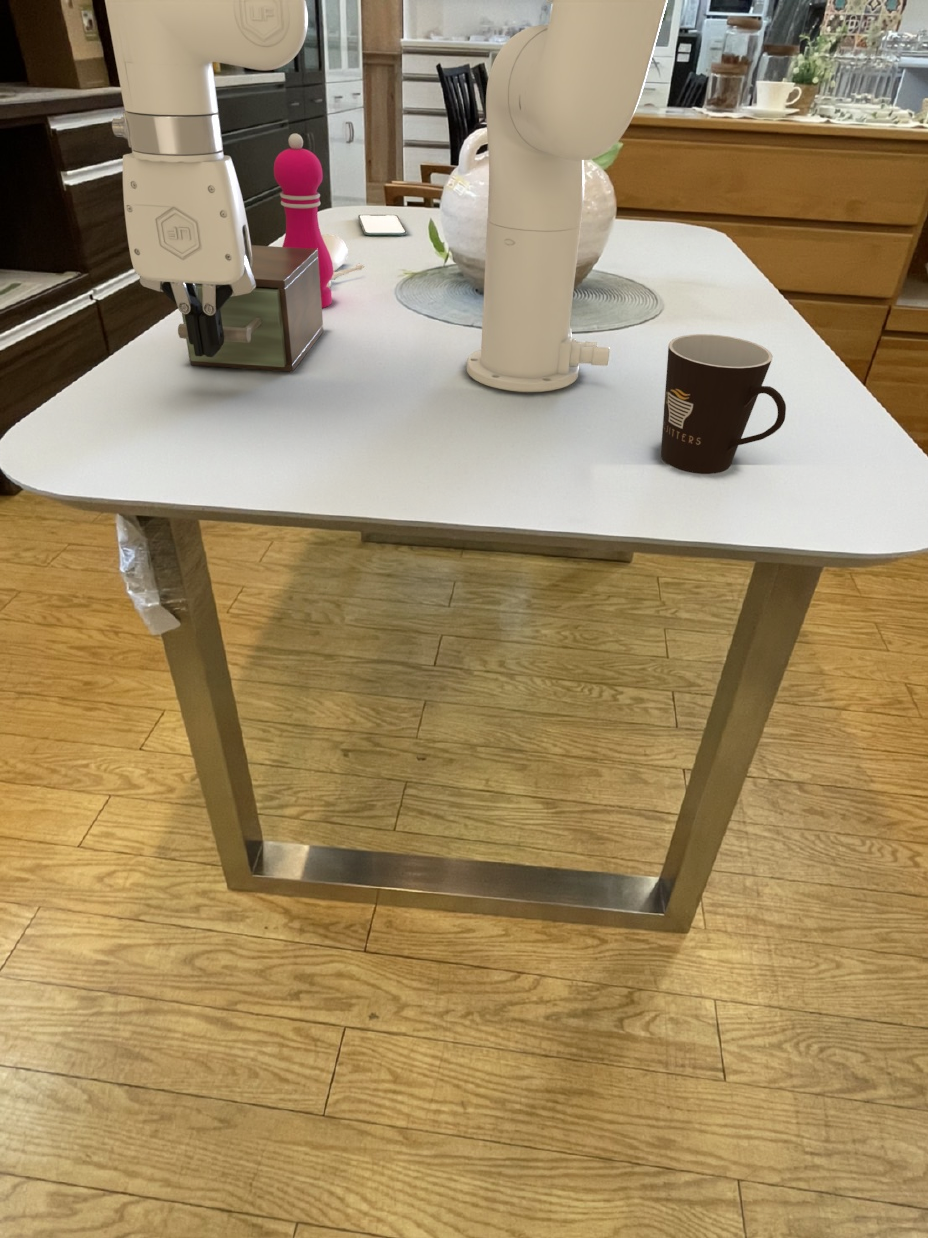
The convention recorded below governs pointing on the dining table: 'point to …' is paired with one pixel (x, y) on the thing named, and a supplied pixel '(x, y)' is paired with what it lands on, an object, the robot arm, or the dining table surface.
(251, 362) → the drawer
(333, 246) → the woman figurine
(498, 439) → the dining table surface
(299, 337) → the cabinet
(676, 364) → the coffee mug
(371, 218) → the smartphone
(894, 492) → the dining table surface
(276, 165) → the pepper mill
